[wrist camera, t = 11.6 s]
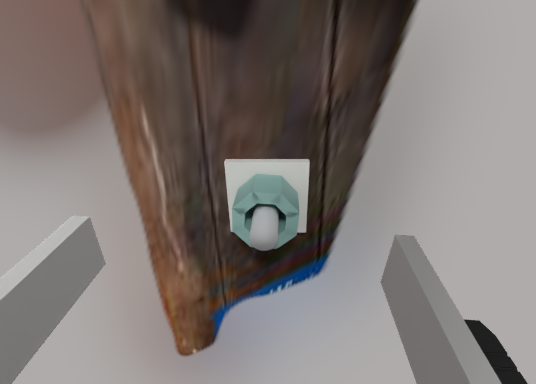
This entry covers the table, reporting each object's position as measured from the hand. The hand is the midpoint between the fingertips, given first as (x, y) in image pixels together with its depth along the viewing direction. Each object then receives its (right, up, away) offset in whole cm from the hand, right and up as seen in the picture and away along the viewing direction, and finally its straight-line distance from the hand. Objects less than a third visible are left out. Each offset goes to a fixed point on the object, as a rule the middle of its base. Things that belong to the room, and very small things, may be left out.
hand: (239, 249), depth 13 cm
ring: (+1, +1, +27) cm, 27 cm away
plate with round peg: (+1, +2, +28) cm, 28 cm away
